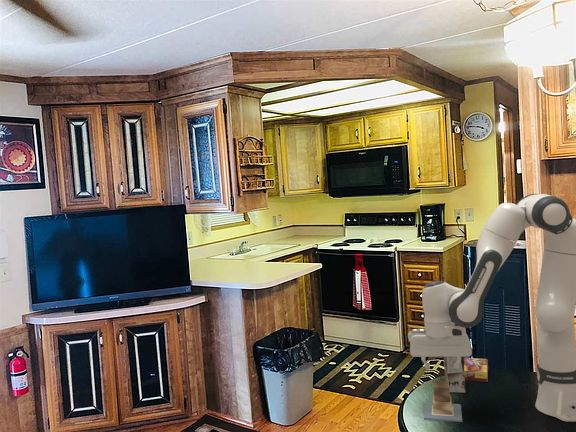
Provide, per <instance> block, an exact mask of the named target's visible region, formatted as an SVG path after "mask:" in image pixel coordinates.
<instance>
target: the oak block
mask: <svg viewBox="0 0 576 432" xmlns="http://www.w3.org/2000/svg"><path fill="white" fill-rule="evenodd" d="M432 403H433V414H442V415H452V404H453V403H452V395H450V402H434V394H432Z"/></svg>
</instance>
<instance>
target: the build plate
mask: <svg viewBox="0 0 576 432" xmlns="http://www.w3.org/2000/svg"><path fill="white" fill-rule="evenodd" d="M423 407H424V410H423V411H424V412H423V419H424V420H426V421H440V422H442V421H443V422H457V423H463V415H462V414H463V412H462V405H461V403H460V404H459V403H452V415H442V414H433V402H426V401H425V402H424V406H423Z"/></svg>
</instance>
